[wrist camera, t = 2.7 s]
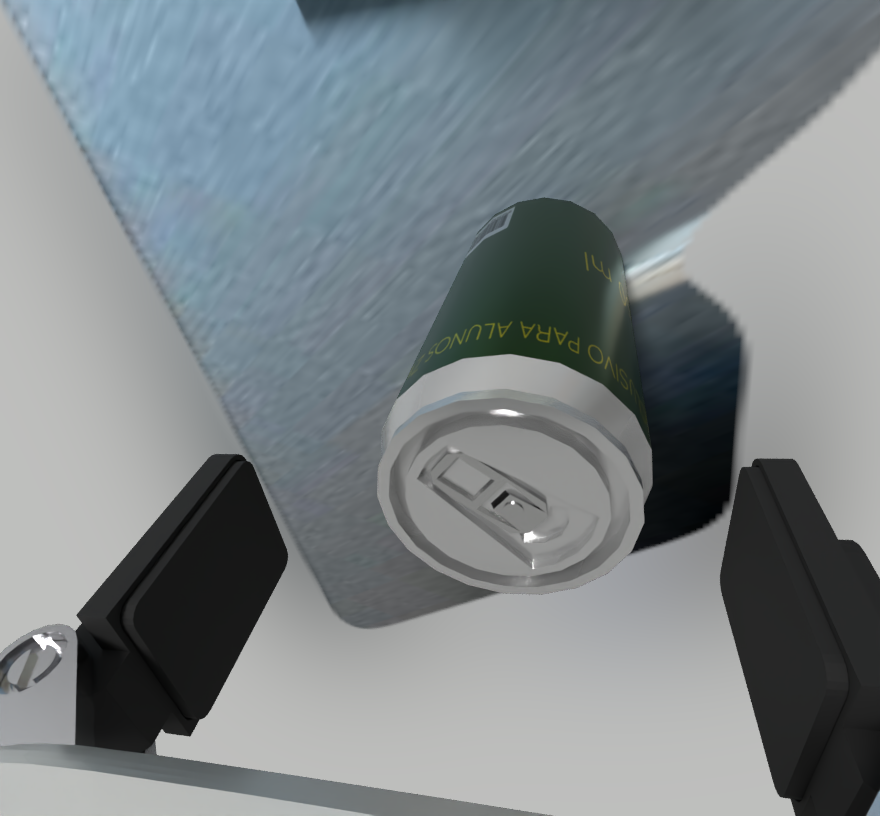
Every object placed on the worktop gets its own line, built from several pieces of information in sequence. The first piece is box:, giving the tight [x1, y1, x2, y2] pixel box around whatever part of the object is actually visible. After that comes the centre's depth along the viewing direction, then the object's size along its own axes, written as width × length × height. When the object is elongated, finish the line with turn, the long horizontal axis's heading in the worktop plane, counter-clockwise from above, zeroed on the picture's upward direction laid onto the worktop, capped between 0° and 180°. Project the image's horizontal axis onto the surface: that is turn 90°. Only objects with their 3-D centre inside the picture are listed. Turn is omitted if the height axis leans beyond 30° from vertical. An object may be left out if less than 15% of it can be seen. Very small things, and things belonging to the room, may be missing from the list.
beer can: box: [377, 198, 653, 594], centre depth 15 cm, size 5×5×12 cm
